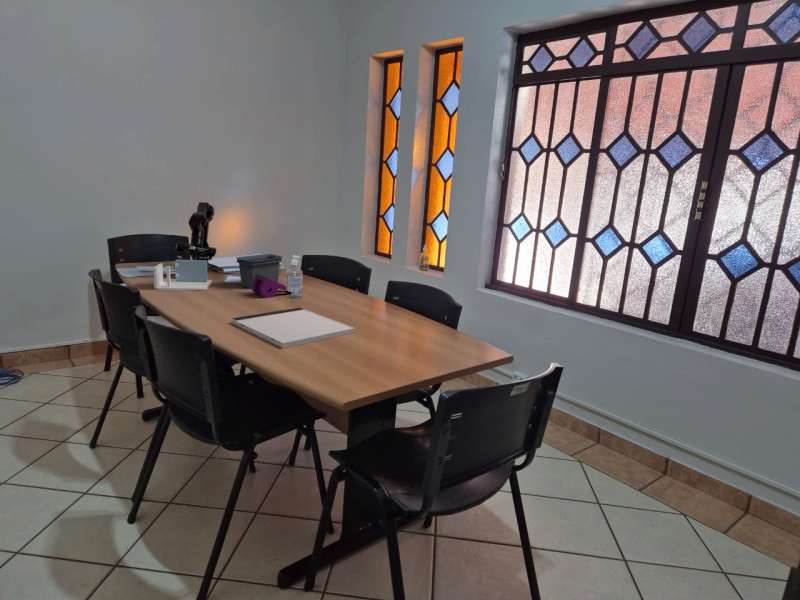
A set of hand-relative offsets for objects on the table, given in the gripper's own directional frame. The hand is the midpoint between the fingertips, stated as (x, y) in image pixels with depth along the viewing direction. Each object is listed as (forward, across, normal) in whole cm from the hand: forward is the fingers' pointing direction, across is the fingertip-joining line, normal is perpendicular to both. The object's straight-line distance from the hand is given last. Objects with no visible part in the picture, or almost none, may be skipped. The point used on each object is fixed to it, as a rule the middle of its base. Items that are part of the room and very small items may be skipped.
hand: (194, 264), depth 265 cm
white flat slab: (+53, -26, +75) cm, 95 cm away
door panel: (+11, +2, +4) cm, 12 cm away
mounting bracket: (+22, -32, +30) cm, 49 cm away
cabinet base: (+14, +5, +7) cm, 17 cm away
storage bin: (+12, -29, +13) cm, 33 cm away
